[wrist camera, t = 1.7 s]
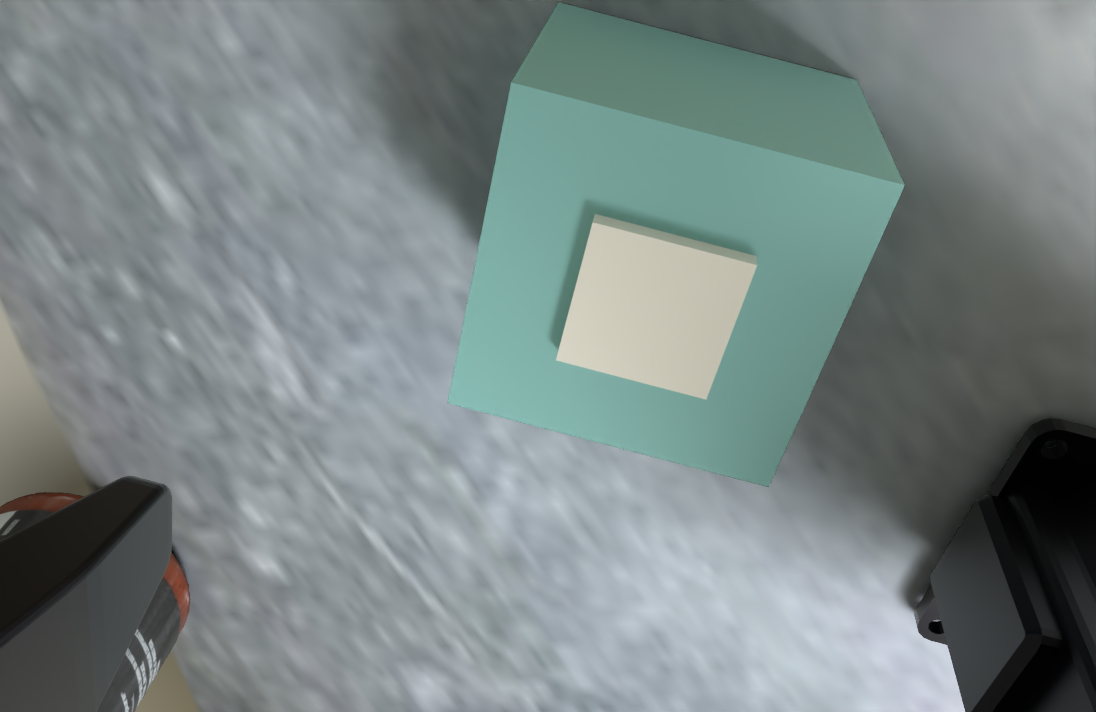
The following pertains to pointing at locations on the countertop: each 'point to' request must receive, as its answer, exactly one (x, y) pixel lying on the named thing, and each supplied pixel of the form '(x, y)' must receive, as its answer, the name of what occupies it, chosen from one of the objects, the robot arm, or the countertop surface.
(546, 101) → the teal cube with pad
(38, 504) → the supplement bottle
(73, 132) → the countertop surface
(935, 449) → the countertop surface
